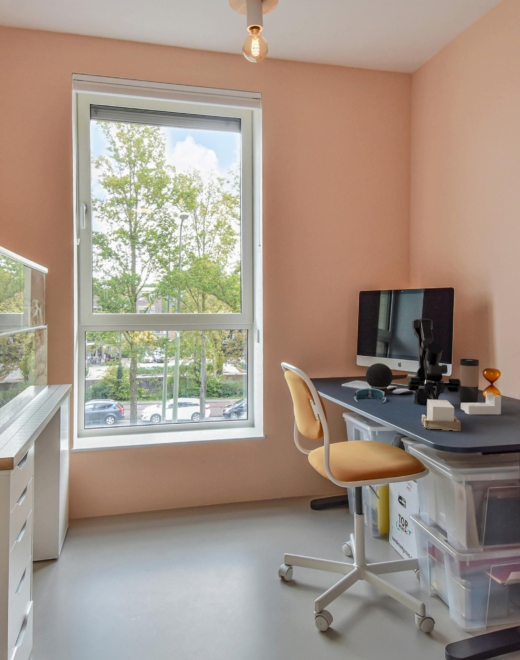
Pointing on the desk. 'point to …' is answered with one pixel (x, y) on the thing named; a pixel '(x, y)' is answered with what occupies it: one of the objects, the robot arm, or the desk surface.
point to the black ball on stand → (379, 377)
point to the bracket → (484, 406)
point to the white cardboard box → (439, 410)
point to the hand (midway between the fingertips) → (436, 402)
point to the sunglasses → (366, 391)
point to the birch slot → (442, 424)
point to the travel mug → (469, 380)
